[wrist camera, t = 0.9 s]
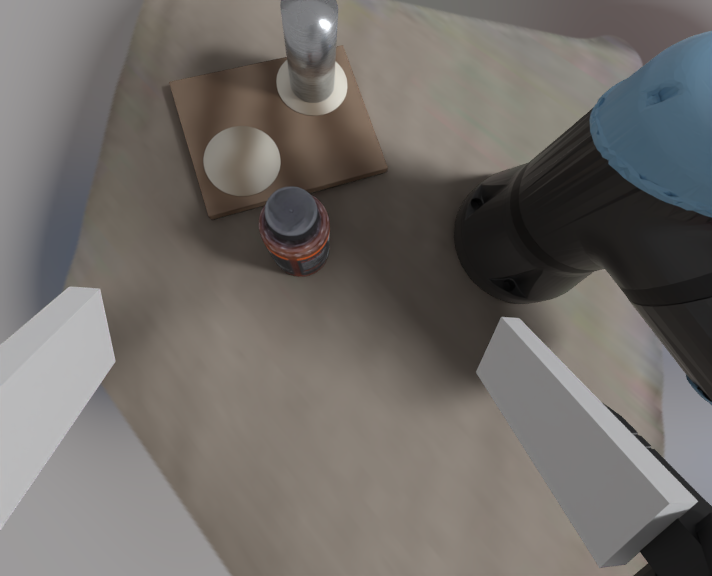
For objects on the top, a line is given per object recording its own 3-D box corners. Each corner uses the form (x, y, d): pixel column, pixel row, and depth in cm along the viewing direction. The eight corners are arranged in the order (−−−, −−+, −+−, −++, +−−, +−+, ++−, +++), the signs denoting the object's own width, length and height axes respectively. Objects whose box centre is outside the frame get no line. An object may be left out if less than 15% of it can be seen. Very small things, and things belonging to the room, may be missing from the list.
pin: (326, 60, 39) (327, -22, 30) (340, 98, 38) (345, 26, 30) (284, 69, 38) (273, -12, 29) (297, 108, 38) (290, 37, 29)
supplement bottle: (338, 240, 37) (345, 197, 26) (311, 287, 36) (307, 264, 25) (290, 214, 37) (277, 159, 26) (262, 260, 36) (235, 224, 25)
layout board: (342, 52, 41) (342, 44, 39) (386, 172, 39) (388, 167, 38) (172, 88, 38) (168, 80, 37) (211, 219, 36) (208, 215, 35)
